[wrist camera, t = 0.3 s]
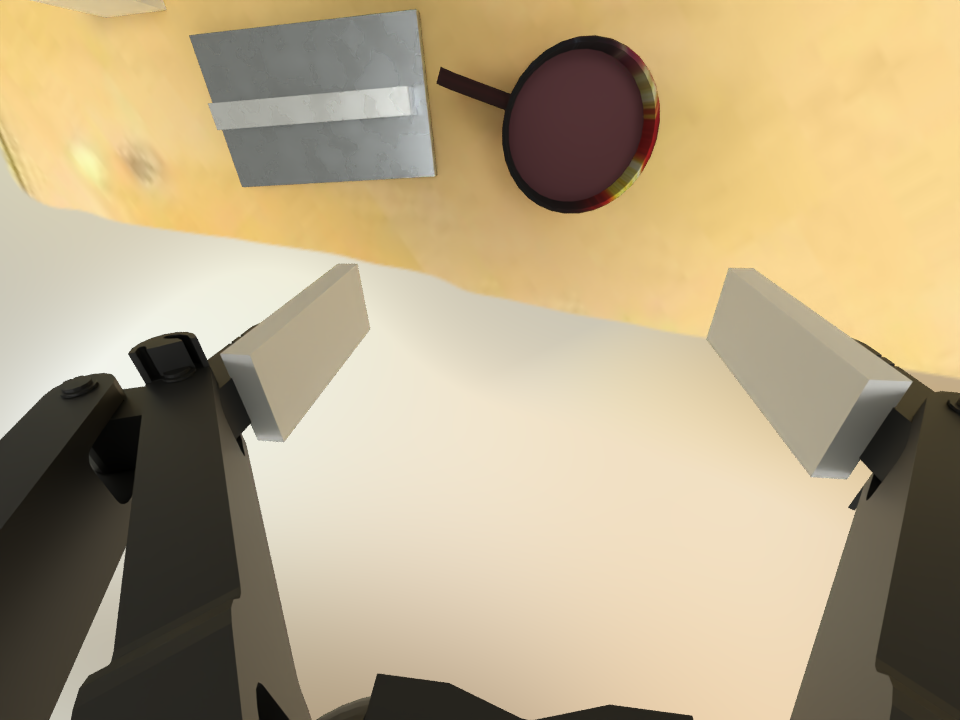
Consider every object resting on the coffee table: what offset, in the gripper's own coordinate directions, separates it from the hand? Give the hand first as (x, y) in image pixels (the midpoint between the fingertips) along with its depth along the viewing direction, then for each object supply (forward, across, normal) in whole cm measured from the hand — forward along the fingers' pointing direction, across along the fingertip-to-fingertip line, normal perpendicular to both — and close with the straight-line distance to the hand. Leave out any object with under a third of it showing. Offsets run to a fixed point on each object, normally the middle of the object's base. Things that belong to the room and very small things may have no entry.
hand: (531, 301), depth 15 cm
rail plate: (+27, -20, +7) cm, 34 cm away
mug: (+28, 0, +4) cm, 28 cm away
